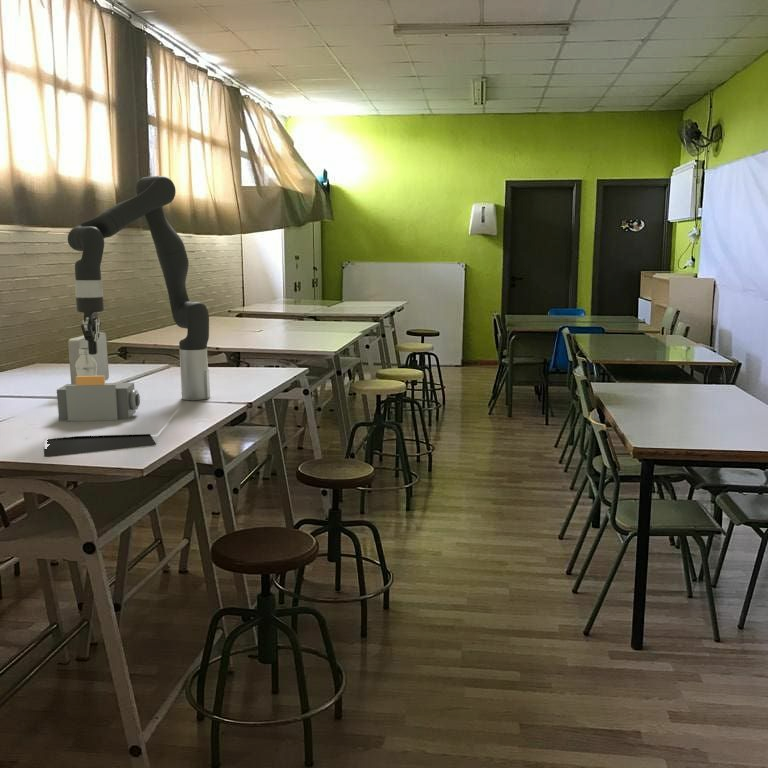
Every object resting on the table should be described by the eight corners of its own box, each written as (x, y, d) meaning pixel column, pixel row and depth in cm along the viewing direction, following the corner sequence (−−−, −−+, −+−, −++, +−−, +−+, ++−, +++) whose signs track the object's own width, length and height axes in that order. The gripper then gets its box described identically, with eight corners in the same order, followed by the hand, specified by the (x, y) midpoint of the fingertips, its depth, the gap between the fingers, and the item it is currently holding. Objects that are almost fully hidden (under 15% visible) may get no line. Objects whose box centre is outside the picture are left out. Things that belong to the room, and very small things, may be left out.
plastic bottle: (93, 412, 237) (89, 349, 234) (74, 412, 239) (69, 349, 235) (104, 408, 243) (100, 347, 240) (86, 408, 245) (81, 346, 241)
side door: (118, 419, 224) (115, 375, 222) (117, 419, 223) (114, 376, 221) (69, 420, 223) (65, 376, 221) (68, 421, 222) (64, 377, 219)
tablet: (147, 429, 214) (157, 444, 196) (147, 431, 214) (157, 447, 196) (43, 439, 203) (44, 457, 185) (43, 442, 203) (44, 460, 185)
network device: (88, 395, 266) (84, 339, 263) (64, 395, 267) (60, 339, 263) (115, 383, 292) (111, 332, 288) (92, 383, 292) (89, 332, 288)
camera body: (142, 414, 235) (141, 382, 233) (136, 421, 225) (134, 388, 224) (69, 416, 233) (66, 384, 231) (59, 423, 223) (56, 389, 221)
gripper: (96, 296, 216) (100, 356, 219) (108, 294, 229) (111, 351, 232) (69, 296, 215) (73, 357, 218) (82, 294, 228) (86, 351, 231)
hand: (93, 354), depth 225 cm, fingers closed
